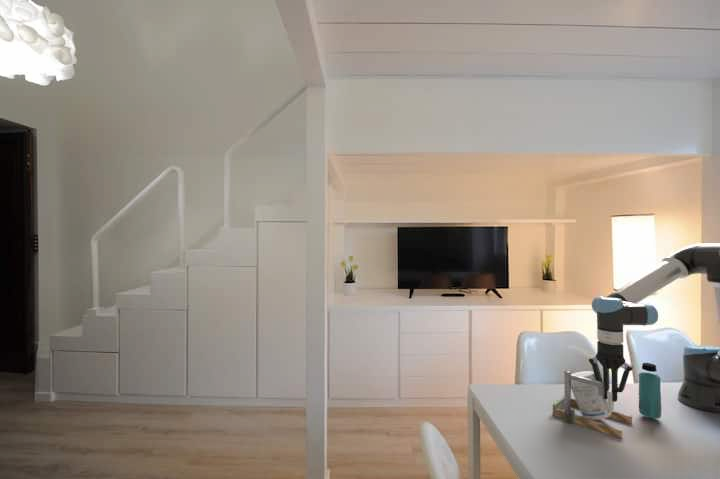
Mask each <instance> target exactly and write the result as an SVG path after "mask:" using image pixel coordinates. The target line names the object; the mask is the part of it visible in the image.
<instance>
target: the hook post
mask: <svg viewBox="0 0 720 479" xmlns="http://www.w3.org/2000/svg"><path fill="white" fill-rule="evenodd" d="M563 373H564V380H563V381H564V383H563V384H564V388H563V389H564V392H563V393H564V395H563V396H564V409H563V411H564V423H565V424H571V423H572V421H571V409H572V405H571V398H572V389H571V380H575V381H579V382H582V383H586V384H590V385H594V386H597V387H598V395H600V396H604V395H605V383H604V382H600V381H596V380H592V379H588V378H584V377H580V376H576V375H572V374H573V373H572V372H571V371H570V370H564V372H563Z"/></svg>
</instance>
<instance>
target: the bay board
mask: <svg viewBox="0 0 720 479" xmlns="http://www.w3.org/2000/svg"><path fill="white" fill-rule="evenodd" d="M572 406H573V407H575V408H579V406H578V404H577V402H576V399H575V398H572V397H571V407H572ZM552 416H555V417H556V418H557V417H558V418H560V419H564V395H563V396H561V397H560V398H559V399H558V400H555V402H554V403H553V404H552ZM608 418H611V419H614V420H617V421H620V422H622V423H627V424H630V425H632V424H633V416H632V415H629V414H625V413H623V412H619V411H616V410H613V411H611V415H610V416H609V417H608ZM571 423H575V424H578V425H581V426H584V427H586V428H589V429H592V430H595V431H598V432H601V433H604V434H607V435H610V436H611V437H612V436H613V437H616V438H618V439H623V429H620V428H617V427H614V426H611V425H608V424H606V423H602V422H601V421H600V422H599V421H597V420H590V419H587V418H584V417H583V416H580V415H578V414H576V412H575V409H572V408H571Z"/></svg>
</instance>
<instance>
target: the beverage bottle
mask: <svg viewBox="0 0 720 479" xmlns="http://www.w3.org/2000/svg"><path fill="white" fill-rule="evenodd" d="M641 369H642V370H643V371H641V372H639V373H638V400H637V401H638V411H639V414H641V415H642V416H644V417H648V418H649V419H650V418H651V419H657V420H658V419H661V417H662V394H661V393H662V392H661V377H660V376H659V375H658V374H657V371H658V370H657V365H656V364H654V363H650V362H642V365H641ZM654 372H656V373H654Z"/></svg>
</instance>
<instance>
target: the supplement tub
mask: <svg viewBox="0 0 720 479" xmlns="http://www.w3.org/2000/svg"><path fill="white" fill-rule="evenodd" d="M571 374H572V375H576V376H580V377H584V378H588V379H592V380H596V378H595V374H594V371H593V370H585V371H583V370H582V371H578V372H577V371H576V372H573V373H571ZM571 393H572V394H573V396H574V399H576V402H577V404H578V406H579V407H578V408H579V411H580V414H581V415H582V416H581V417H584V418H587V419H590V420H593V421H599V420H604V419H607V418H610V417H609V416H610V415H611V411H609V410H607V399H604V396H600V395H598V387H597V386H594V385H590V384H586V383H582V382H579V381H575V380H571Z"/></svg>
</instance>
